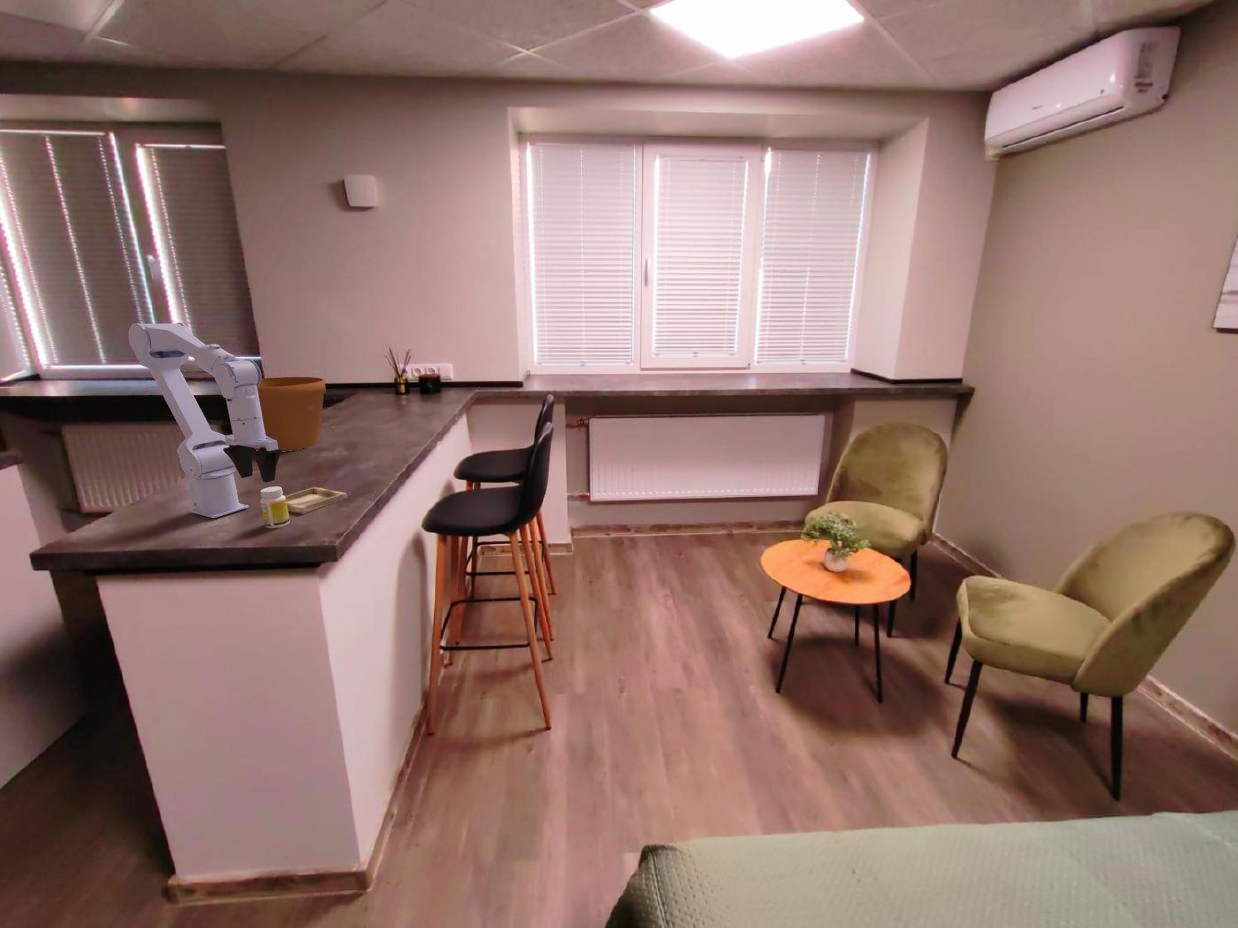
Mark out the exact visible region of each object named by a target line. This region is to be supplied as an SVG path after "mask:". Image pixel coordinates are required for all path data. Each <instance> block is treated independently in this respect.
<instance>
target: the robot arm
mask: <svg viewBox="0 0 1238 928" xmlns="http://www.w3.org/2000/svg"><path fill="white" fill-rule="evenodd" d="M128 343H129V345H130V347H131V350H132V351H133V353H134V354H135V356H136V358H137V360H138V361H139V364H140V365H141V367H145V368H147V369H148V370H149V371H150V374H151V375H152V377H153V380H154V381H155V384H156V385H157V387H158V389H159V391H160V393H161V394H162V397H163V398H164V401H165V402H166V404H167V405H168V409H170V411H171V413H172V415H173V417H174V419H175V420H176V423H177V424H178V427H179V429H180V430H181V432H182V434H183V436H184V437H185V439H183V441H181V443H180V444H179V445H178V447H177V449H176V453H177V455H178V459H179V461H180V462H179V463H180V467H181V469H182V470H183V472H184V473H185V475H187V476H188V477H190V480H189V482H188V489H189V494H190V498H191V502H192V507H193V508H192V509H190V510H189V512H190V513H192V514H196V515H200V516H204V517H207V518H212V519H215V518H218V517H222V516H225V515H228V514H232V513H235V512H239V511H241V510H242V511H243V510H245V509H248V508H249V505H248V504H243V503H240V501H239V496H238V491H237V486H236V482H235V476H234V472H238V474H239V477H241V478H242V479H244V478H245V479H246V478H249V477H252V476H253V470H254V469H253V459H254V461H255V464H256V465H257V467H258V469H259V473H260V476H261V479H262V482H264V483H268V482H273V481H275V480H276V473H277V465H278V462H279V458H280V456H281V454H282V453H281V452H282V449H281V448H278V444H277V440H273V439H271V438H269V437H267V436H266V435H265V429H264V424H263V418H262V412H261V407H260V401H259V396H258V391H257V386H259V385H260V383H261V379H262V377H263V376H262V372H261V369H260V367H259V365H258V364H257V363H256V362H255V361H254V360H253V359H250V358H246V359H239V358H238V357H236V356H235V355H234V354H232V353H230V352H228V351H226V350H225V349H223V348H221V345H219V344H218V343H209V344H205V343H204V342H202V341H201V340H200V339H199V338H197V337H196V336H194V334H193V331H192V328H191V327H190V326H188V325H186V324H185V323H183V322H176V323H171V322H169V323H138V322H134V323H132V324H131V325H130V326H129V329H128ZM189 357H191V358H194V362H195V365H196V366H197V367H198V368H199V369H201V370H203V371H204V372H206V373H207V374H209V375H211V376H212V377H214V380H215V382H216V384H217V385H218V387H219V389H220V392H221V396H222V397H223V398H224V399H225V400H226V407H227V410H228V411H227V412H228V417H229V421H230V425H231V426H230V427H231V431H232V434H227V435H224V434H222V433H220V432H217V431H214V430H212V428H211V426H210V425H209V423H208V421H207V418H206V417H205V415H204V413H203V411H202V409H201V408H200V405H199V404H198V402H197V399H196V398H195V396H194V394H193V391H192V390H191V389H190V387H189V385H188V382H187V381H186V378H185V377H184V375H183V373H182V371H181V370H180V369H181V366H183V365H184V364H187V362H188V361H189V360H188V359H189ZM253 447H254V448H260V450H258V451H254V449H253Z"/></svg>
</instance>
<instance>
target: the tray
mask: <svg viewBox="0 0 1238 928" xmlns="http://www.w3.org/2000/svg"><path fill="white" fill-rule="evenodd" d="M284 496H285V497H286V502H287V508H288V512H291V513H294V514H298V515H302V516H303V515H307V514H309V513H311V512H314V511H318V510H319V509H322V508H325V507H327V506H331V505H333V504H335V503H338V502H342V501H343V500H346V499H348V493H347V492H343V491H342V492H341V491H337V490H332V489H327V488H323V487H317V486H313V487H310V488H307V489H303V490H299V491H297V492H293V493H290V494H287V495H284ZM299 497H301V498H299Z"/></svg>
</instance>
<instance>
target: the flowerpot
mask: <svg viewBox="0 0 1238 928" xmlns="http://www.w3.org/2000/svg"><path fill="white" fill-rule="evenodd" d="M257 391H258V396H259V401H260V407H261V412H262V418H263V424H264V429H265V435H266V436H267V437H269V438H271V439H273V440H277V444H278V448H281V449H282V451H289V450H297V451H299V450H298V449H302V450H304V449H303V448H306V449H308V448H307V447H310V448H312V447H311V446H313V447H315V446H317V445H318V444H319V443H320V436H321V427H322V419H323V418H322V416H323V406H324V397H325V395H324V393H326V392H327V390H326V381H325V379H324V378H322V377H316V376H314V377H313V376H281V377H265V378H264V377H263V378H262V379H261V383H260V385H259V386H257ZM316 444H317V445H316ZM314 445H315V446H314ZM253 448H254V447H253ZM255 450H260V448H255Z"/></svg>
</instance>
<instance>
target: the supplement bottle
mask: <svg viewBox="0 0 1238 928" xmlns="http://www.w3.org/2000/svg"><path fill="white" fill-rule="evenodd" d="M283 494H284V493H283V488H282V487H281V486H277V485H276V486H268V487H265V488H263V489H261V490H260V496H261V498H260V507H261V512H262V517H263V521H264V526H265V528H266V529H277V528H278V529H279V528H282V527H285V526H287V525H289V524H290V522H291V520H290V515H289V514H290V513H289V511H288V508H287V502H286V497H285V496H286V495H283Z"/></svg>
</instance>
